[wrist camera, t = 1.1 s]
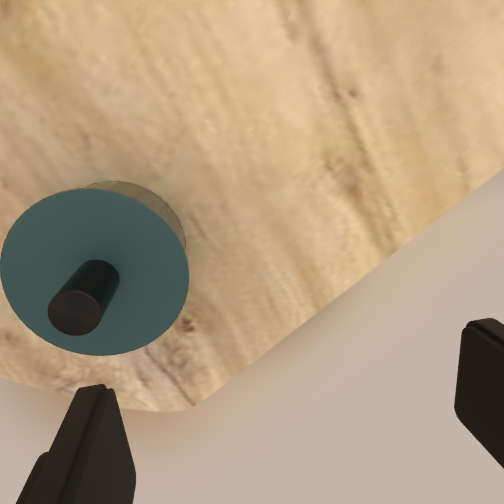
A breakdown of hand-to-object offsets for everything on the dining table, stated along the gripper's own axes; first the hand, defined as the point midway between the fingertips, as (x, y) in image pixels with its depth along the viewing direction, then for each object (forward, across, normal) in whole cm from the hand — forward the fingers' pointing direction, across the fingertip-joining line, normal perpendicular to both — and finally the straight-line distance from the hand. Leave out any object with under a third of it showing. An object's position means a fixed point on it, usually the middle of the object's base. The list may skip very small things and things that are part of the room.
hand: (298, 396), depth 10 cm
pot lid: (+19, +10, +2) cm, 22 cm away
